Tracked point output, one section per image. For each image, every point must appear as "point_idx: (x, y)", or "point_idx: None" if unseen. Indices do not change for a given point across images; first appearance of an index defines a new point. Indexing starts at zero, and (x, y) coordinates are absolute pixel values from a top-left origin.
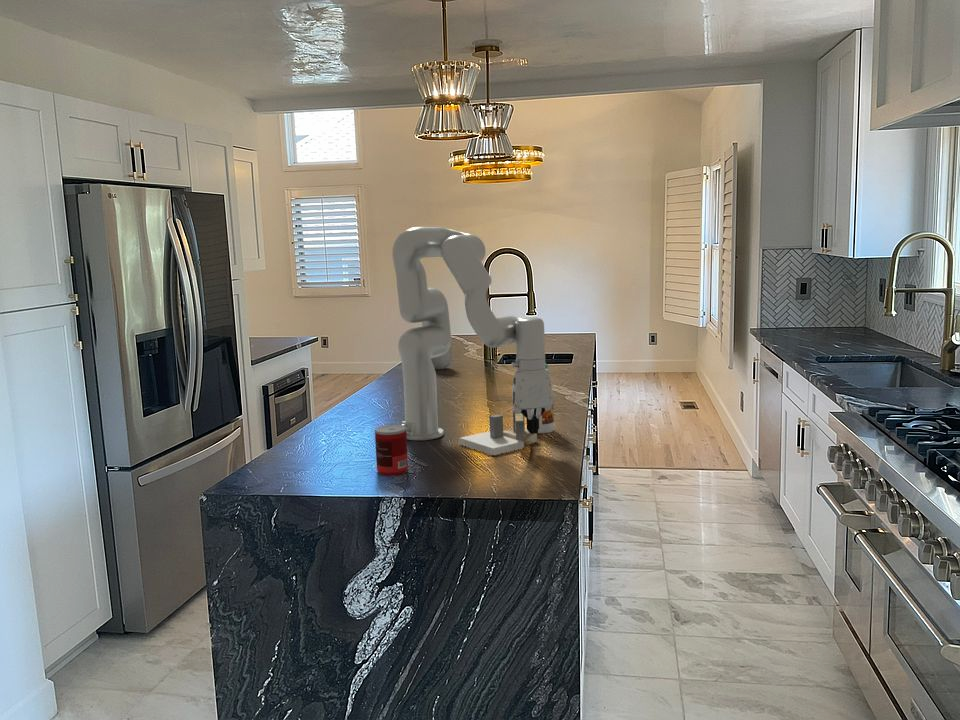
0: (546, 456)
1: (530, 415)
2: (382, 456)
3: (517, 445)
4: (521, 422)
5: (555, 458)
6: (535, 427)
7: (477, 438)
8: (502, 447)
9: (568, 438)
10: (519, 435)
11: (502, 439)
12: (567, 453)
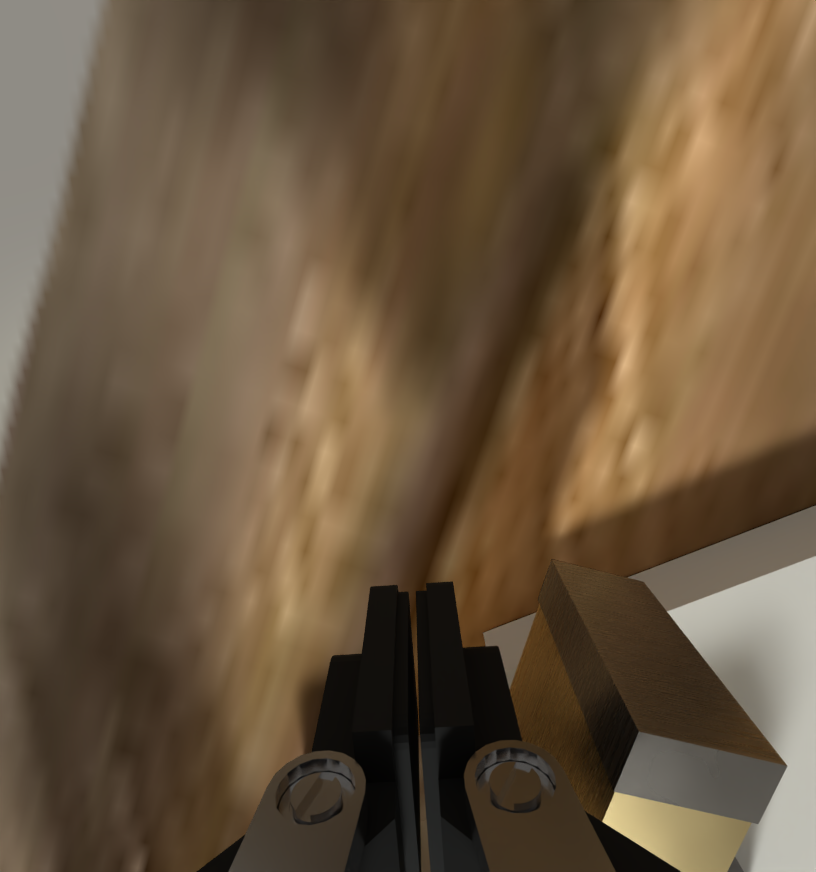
0: (356, 305)
1: (516, 816)
2: None
3: None
4: (669, 723)
5: (288, 199)
6: (402, 637)
7: None
8: (761, 565)
9: (7, 800)
10: (624, 600)
11: None
12: (122, 342)
